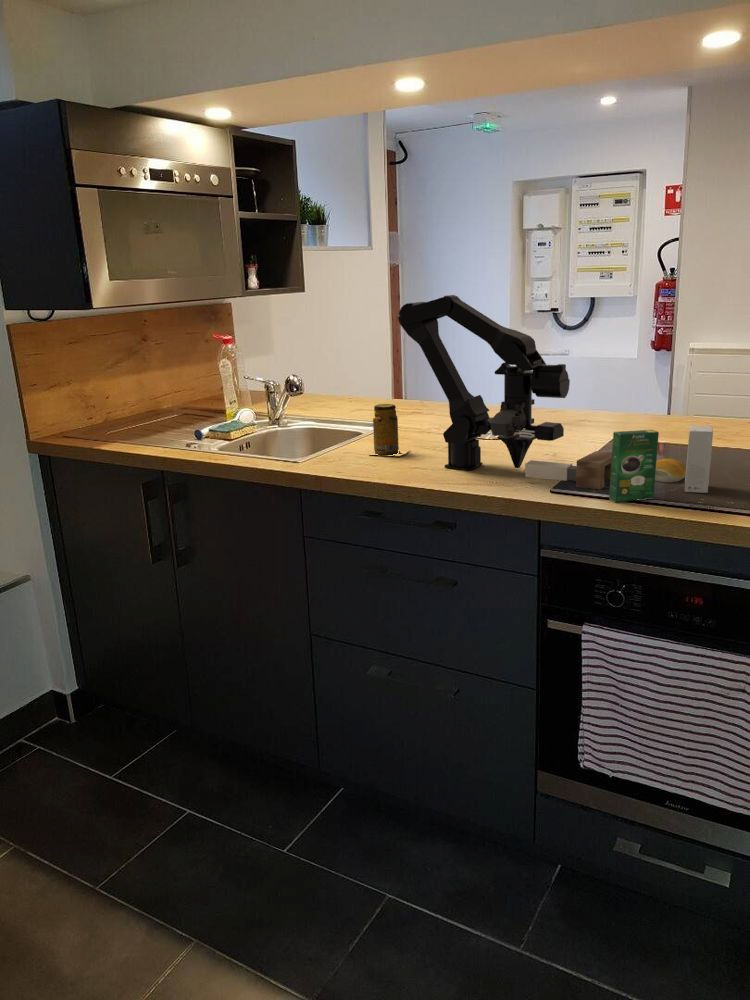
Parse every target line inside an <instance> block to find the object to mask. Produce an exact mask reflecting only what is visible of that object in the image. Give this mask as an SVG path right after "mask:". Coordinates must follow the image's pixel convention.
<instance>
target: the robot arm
mask: <svg viewBox="0 0 750 1000" xmlns="http://www.w3.org/2000/svg"><path fill="white" fill-rule="evenodd" d="M444 317H448V318H449V319H451V320H453V321H454V322H456V323H457V324H459V326H462V327H463V328H464V329H466V330H467V331H469V332H470V333H472V334H474V336H475V335H476V337H479V338H480V339H481V340H483V341H485V343H487V344H488V345H489V346H490V347H491V349H492V350H493V352H494V354H496V355H497V356H498V357H499V358H500V359H502V361H503V362H502V363H501V364H500V366H499V367H498V368H497V369H496V370H495V371H494V374H495V375H499V376H500V375H503V376H504V386H503V387H504V392H503V393H504V394H503V395H504V399H503V401H501V403H500V409H499V412H497V413H495V414H494V416H493V417H490V414H489V412H490V409H489V408H488V407H487V406H486V404H485V402H484V398H483V397H482V395H481V394H478V395H475V396H474V395H473V394H471V393H470V392H469V390H468V389H467V386H466V385H465V383H464V381H463V378H462V377H461V375H460V373H459V371H458V370H457V368H456V366H455V363H454V362H453V359H452V358H451V356H450V354H449V352H448V350H447V348H446V346H445V345H444V343H443V340H442V339H441V337H440V334H439V321H438V319H442V318H444ZM397 321H398V323H399V325H400V326H401V328H402V329H403V330H404V332H405V333H406V334H407V336H408V337H409V338H411V339H412V340H413V341H414V342H415V343H417V345H419V346H420V348H421V350H422V352H423V354H424V356H425V358H426V360H427V362H428V365H429V366H430V367H431V370H432V372H433V374H434V376H435V377H436V379H437V382H438V384H439V385H440V387H441V389H442V391H443V393H444V395H445V397H446V398H447V401H448V408H449V409H448V410H449V411H448V412H449V417H450V420H451V423H452V424H451V425H450V426H449V427H448V428H447V429H445V431H444V432H443V433H442V436H443V439H444V441H445V443H447V464H444V466H443V467H444V468H447V469H453V470H454V469H455V470H459V471H460V470H461V471H471V470H474V469H475V468H478V467H480V466H481V467H482V466H483V464H484V463H483V462H482V461H481V459H482V457H481V455H482V454H481V451H482V450H481V449H482V448H481V446H480V439H478V438H481V437H482V435H487V434H488V433H489V432H490V431H491V435H492V436H494V437H496V439H497V440H501V442H502V443H504V445H505V446H506V448H507V451H508V452H509V456H510V458H511V462H512V463H513V466H514V468H515V469H519V468H521V466H522V464H523V462H524V459H525V457H526V455H527V452H528V450H529V448H530V446H531V445H532V443H534V440H536V439H537V440H538V441H546V442H547V441H548V442H551V441H552V442H553V441H555V440H557V439H560V438H562V437H564V433H565V432H564V431H565V429H564V426H563V425H562V423H561V422H551V421H550V422H549V421H545V422H543V423H540V424H537V425H534V424H535V418H532V414H533V413H532V405H535V399H533V397H532V396H533V395H532V394H535V396H536V397H537V398H552V399H565V398H567V396H568V393H569V391H570V381H571V380H570V378H569V374H568V371H567V367H566V365H567V364H563V363H559V364H547V363H546V361H545V360H544V358H543V357H542V356H541V354H540V352H539V351H538V349H537V346H536V341H535V339H534V338H533V337H532V336H530V335H528V334H527V333H523V332H521V331H518V330H516V329H512V328H509V327H505V326H503V325H501V324H499V323H498V322H496V321H494V320H493V319H491V318H489V317H488V316H486V315H485V314H483V313H481V312H480V311H479V310H478V309H475V308H474V307H472V306H471V305H470V304H467V303H466V302H465V301H463V300H461V299H460V298H459V296H457V295H455V294H451V295H443V296H442V295H441V296H440V297H438V298H437V299H436V298H435V299H432V300H430V301H426V302H425V301H417V302H409V303H405V304H403V305H401V307H400V310H399V311H398V315H397Z"/></svg>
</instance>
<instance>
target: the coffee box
mask: <svg viewBox="0 0 750 1000" xmlns="http://www.w3.org/2000/svg"><path fill="white" fill-rule="evenodd" d="M659 436H660V435H659V431H657V430H654V429H642V430H641V429H639V430H626V431H625V430H623V431H622V430H621V431H613V433H612V447H611V453H612V460H611V475H610V481H609V491H608V492H609V495H608V496H609V497H608V499H609V500H610V501H611V502H612V503H620V502H622V503H626V502H632V501H633V500H635V501H638V500H637V499H645V498H653V499H654V495H655V482H656V481H655V472H656V461H657V460H658V459H657V458H658V447H659Z"/></svg>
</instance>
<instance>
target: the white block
mask: <svg viewBox="0 0 750 1000" xmlns="http://www.w3.org/2000/svg"><path fill="white" fill-rule="evenodd" d="M576 469H577V465H573V463H566V462H557V461H556V462H555V461H543V460H533V459H530V460H529V461H528V462H526V463H525V465H524V477H525V478H526V477H528V478H536V479H545V480H547V479H548V480H555V481H565V482H566V481H573V482H574V481H575V482H576Z"/></svg>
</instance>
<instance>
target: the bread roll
mask: <svg viewBox="0 0 750 1000" xmlns="http://www.w3.org/2000/svg"><path fill="white" fill-rule="evenodd" d="M685 476H686V466H685V464H683V463H682V462H681V461H680V460H678V459H677V460H676V459H674V458H662V459H657V461H656V472H655V482H656V481H658V482H657V483H675V482H676V483H677V482H680V481H681V480H683V479H685Z"/></svg>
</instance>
